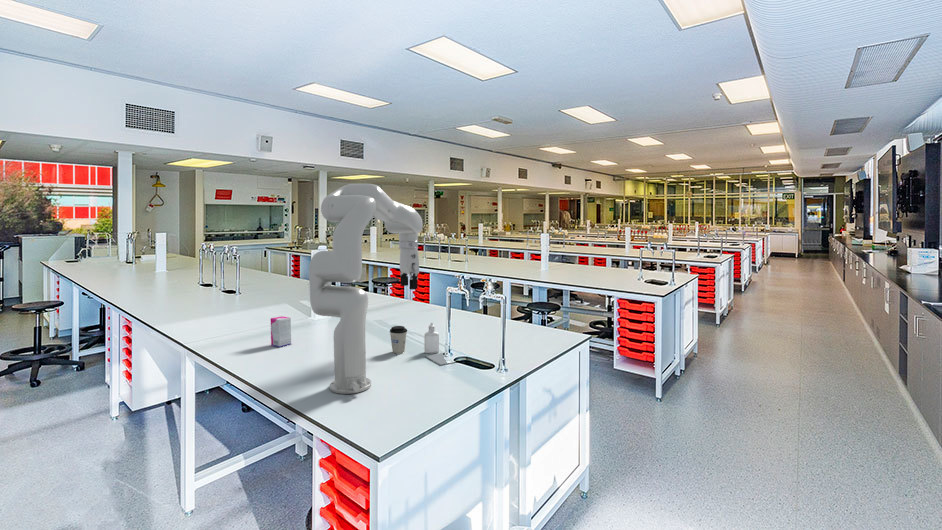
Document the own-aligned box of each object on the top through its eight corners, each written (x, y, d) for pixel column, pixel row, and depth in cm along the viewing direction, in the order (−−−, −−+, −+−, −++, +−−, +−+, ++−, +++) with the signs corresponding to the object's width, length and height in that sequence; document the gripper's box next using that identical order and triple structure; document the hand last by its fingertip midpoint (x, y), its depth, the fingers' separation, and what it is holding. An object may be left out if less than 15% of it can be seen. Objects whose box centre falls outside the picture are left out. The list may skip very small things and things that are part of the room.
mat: (464, 361, 170) (464, 360, 170) (440, 365, 165) (440, 364, 165) (447, 352, 180) (447, 351, 180) (425, 356, 175) (425, 355, 175)
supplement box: (292, 344, 190) (291, 317, 188) (279, 347, 185) (278, 320, 183) (283, 342, 193) (282, 315, 191) (270, 345, 188) (269, 318, 186)
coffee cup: (402, 348, 185) (402, 324, 184) (410, 353, 180) (410, 328, 178) (386, 351, 181) (386, 326, 180) (394, 355, 176) (393, 330, 175)
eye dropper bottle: (436, 354, 178) (436, 324, 177) (422, 353, 179) (422, 323, 178) (440, 351, 182) (440, 321, 181) (427, 350, 184) (427, 320, 182)
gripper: (425, 246, 179) (426, 289, 181) (409, 243, 194) (409, 283, 196) (407, 247, 175) (408, 291, 177) (392, 244, 190) (392, 285, 192)
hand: (408, 287), depth 187 cm, fingers open, 9 cm apart
